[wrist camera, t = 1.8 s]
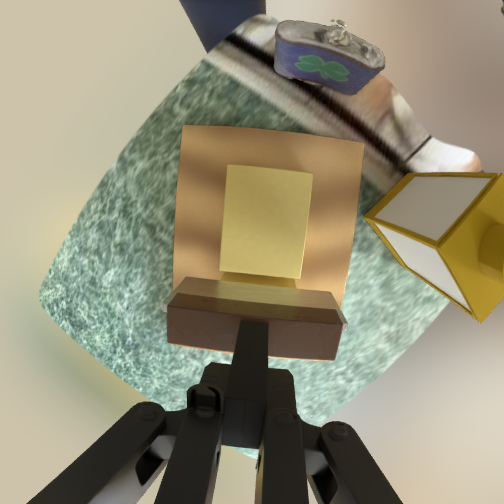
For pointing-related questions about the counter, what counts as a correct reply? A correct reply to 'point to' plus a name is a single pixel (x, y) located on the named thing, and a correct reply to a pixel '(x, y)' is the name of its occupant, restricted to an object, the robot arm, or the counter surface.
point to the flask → (326, 56)
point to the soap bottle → (448, 234)
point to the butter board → (270, 156)
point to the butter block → (265, 220)
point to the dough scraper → (254, 317)
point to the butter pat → (258, 279)
